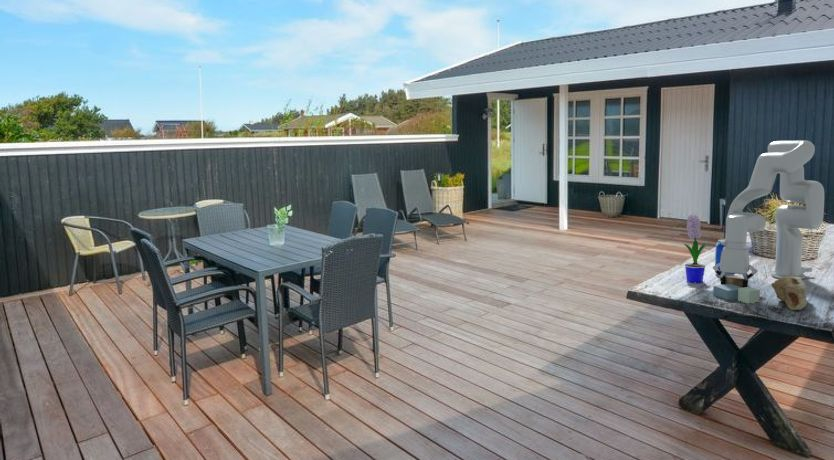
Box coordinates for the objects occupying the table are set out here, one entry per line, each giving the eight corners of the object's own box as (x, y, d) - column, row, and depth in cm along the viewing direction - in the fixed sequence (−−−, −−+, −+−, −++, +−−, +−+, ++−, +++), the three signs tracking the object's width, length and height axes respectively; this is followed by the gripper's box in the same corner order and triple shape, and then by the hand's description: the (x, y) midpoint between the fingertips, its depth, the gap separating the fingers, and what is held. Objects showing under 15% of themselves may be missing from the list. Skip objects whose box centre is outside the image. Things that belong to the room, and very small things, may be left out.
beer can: (733, 273, 258) (735, 238, 255) (737, 277, 250) (739, 242, 248) (713, 272, 261) (714, 238, 258) (716, 276, 253) (717, 241, 250)
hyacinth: (712, 283, 242) (714, 214, 237) (686, 283, 244) (688, 215, 240) (706, 278, 251) (708, 212, 246) (681, 278, 253) (682, 212, 248)
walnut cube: (736, 287, 235) (736, 275, 234) (743, 290, 230) (743, 278, 229) (724, 288, 235) (724, 276, 234) (731, 291, 230) (731, 279, 229)
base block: (730, 293, 228) (731, 283, 228) (745, 298, 221) (745, 288, 220) (713, 295, 227) (713, 285, 226) (727, 300, 219) (727, 290, 219)
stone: (824, 312, 200) (826, 284, 198) (787, 311, 202) (788, 284, 201) (802, 298, 216) (804, 273, 214) (768, 298, 218) (770, 273, 217)
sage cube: (748, 299, 219) (748, 286, 218) (759, 302, 214) (759, 289, 213) (737, 300, 218) (738, 288, 217) (748, 304, 213) (749, 291, 212)
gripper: (709, 245, 232) (708, 287, 235) (758, 248, 221) (756, 292, 224) (714, 242, 238) (712, 283, 241) (761, 245, 227) (759, 288, 230)
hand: (733, 287), depth 232 cm, fingers closed on walnut cube, 7 cm apart
